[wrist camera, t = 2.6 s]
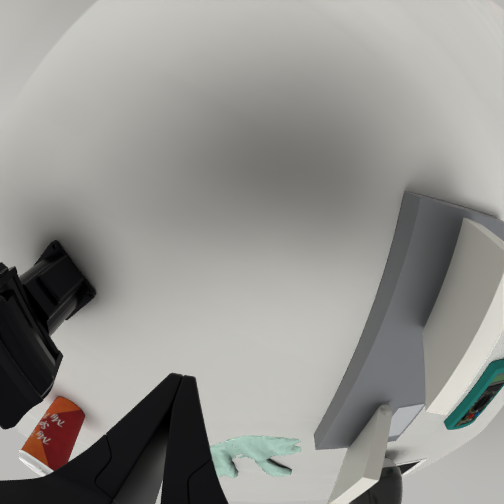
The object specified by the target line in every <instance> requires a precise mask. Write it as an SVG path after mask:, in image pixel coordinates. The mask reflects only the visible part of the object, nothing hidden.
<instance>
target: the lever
mask: <svg viewBox="0 0 504 504" xmlns="http://www.w3.org/2000/svg"><path fill="white" fill-rule="evenodd" d="M392 412H393V409H392V408H391V407H390V406H389V405H386V404H383V405H381V406H379V408H378V409H377V411H376V412H375V414H374V415H373V417H372V418H371V419H370V421H369V422H368V424H367V425H366V426H365V428H364V429H363V430H362V432H361V433H360V434H359V436H358V437H357V438H356V440H355V441H354V442H353V443H352V445H351V446H350V447H349V448H348V450H347V452H346V455H345V458H344V461H343V464H342V467H341V470H340V472H339V475H338V478H337V480H336V483H335V486H334V488H333V491H332V493H331V496H330V498H329V500H328V503H327V504H348V503H349V502H351V501H352V500H354V499H355V498H357V497H358V496H359V495H361V494H362V493H363V492H365V491H366V490H368V489H369V488H370V487H371V486H373V485H374V484H375V483H377V482H378V481H379V479H380V475H381V471H382V466H383V462H384V457H385V453H386V448H387V442H388V437H389V431H390V425H391V419H392Z"/></svg>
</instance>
